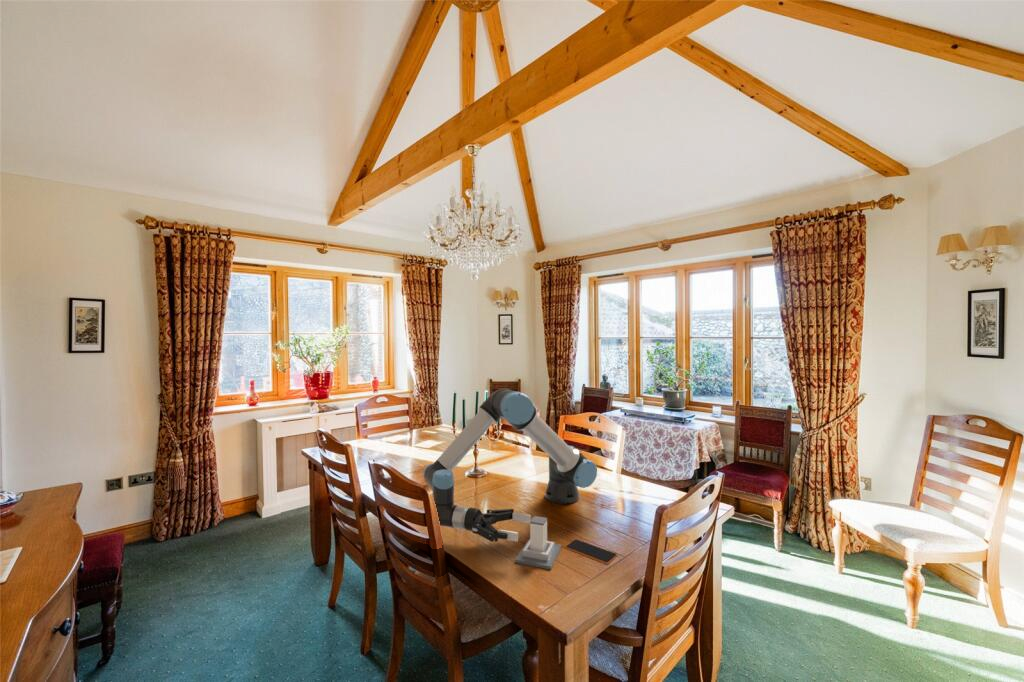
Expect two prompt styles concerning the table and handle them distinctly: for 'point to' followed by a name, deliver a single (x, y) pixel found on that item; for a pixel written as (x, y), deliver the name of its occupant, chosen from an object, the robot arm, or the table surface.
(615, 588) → the table surface
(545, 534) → the block
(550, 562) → the dock
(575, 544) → the smartphone
